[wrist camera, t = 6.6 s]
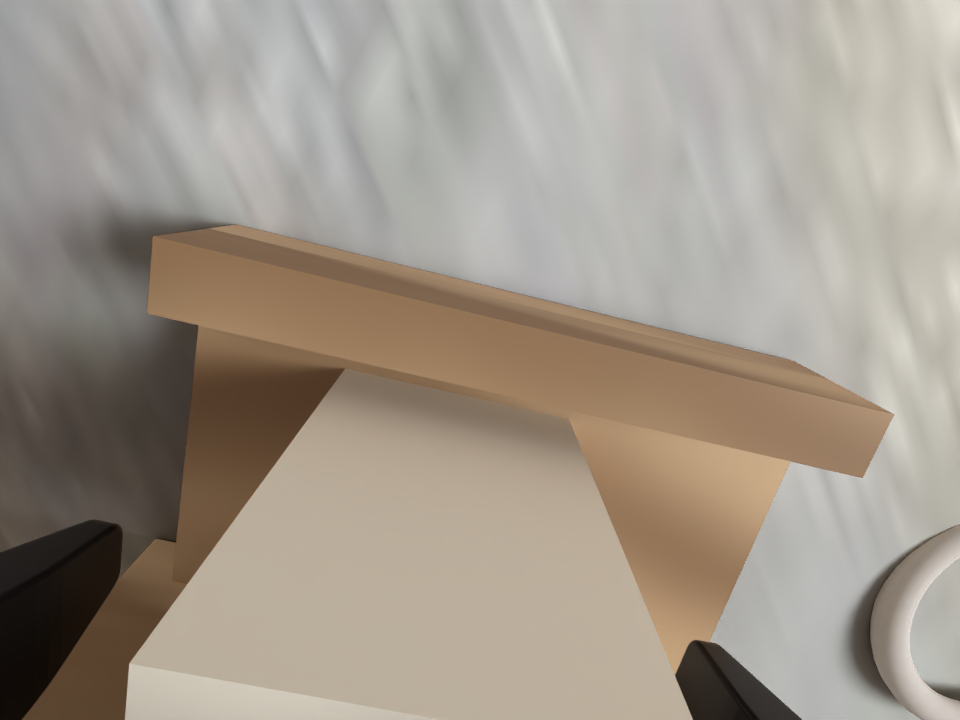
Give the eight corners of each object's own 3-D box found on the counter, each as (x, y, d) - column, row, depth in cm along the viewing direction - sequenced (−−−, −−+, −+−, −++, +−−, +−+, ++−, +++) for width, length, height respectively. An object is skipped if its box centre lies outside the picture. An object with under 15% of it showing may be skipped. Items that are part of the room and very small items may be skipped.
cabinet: (505, 619, 12) (559, 1347, 5) (306, 580, 12) (-3, 1296, 4) (568, 419, 11) (799, 974, 3) (345, 368, 11) (-9, 853, 3)
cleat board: (689, 696, 15) (826, 1020, 9) (150, 593, 14) (-86, 886, 8) (836, 371, 12) (1163, 534, 6) (185, 211, 11) (-129, 234, 5)
